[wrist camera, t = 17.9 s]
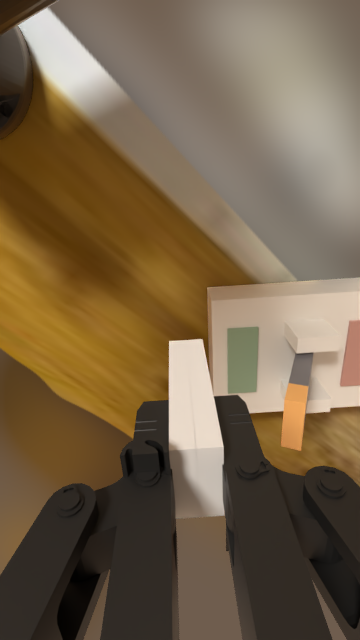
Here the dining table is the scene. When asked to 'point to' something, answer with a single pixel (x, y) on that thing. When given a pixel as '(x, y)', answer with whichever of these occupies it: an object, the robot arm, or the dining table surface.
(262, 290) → the box
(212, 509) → the robot arm
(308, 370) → the breaker lever
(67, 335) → the dining table surface
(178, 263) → the dining table surface
